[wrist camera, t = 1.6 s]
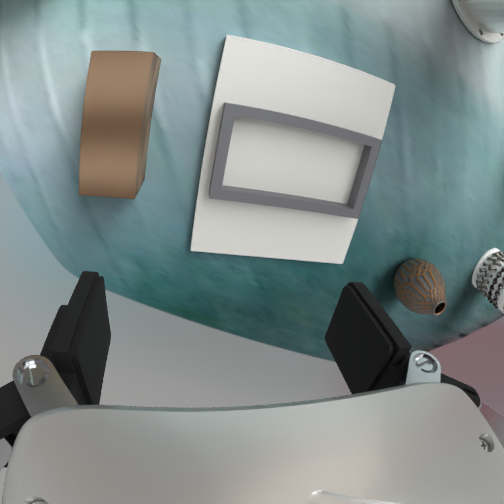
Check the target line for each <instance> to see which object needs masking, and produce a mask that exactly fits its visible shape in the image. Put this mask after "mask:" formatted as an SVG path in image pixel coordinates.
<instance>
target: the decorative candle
mask: <svg viewBox="0 0 504 504" xmlns="http://www.w3.org/2000/svg"><path fill="white" fill-rule="evenodd" d="M472 284H473V285H474V287H475V288H477V290H479V292H482V295H484V297H488V300H489V301H490V303H493V305H494V306H495V308H499V309H500V310H501V311H502V312H503V313H504V253H503V252H500V250H499V249H497V248H492V249H490V250H488V251H487V252H486V253H485V254H483V256H482V257H481V258H480V260H479V261H478V263H477V265H476V267H475V268H474V271H473V275H472Z"/></svg>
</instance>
